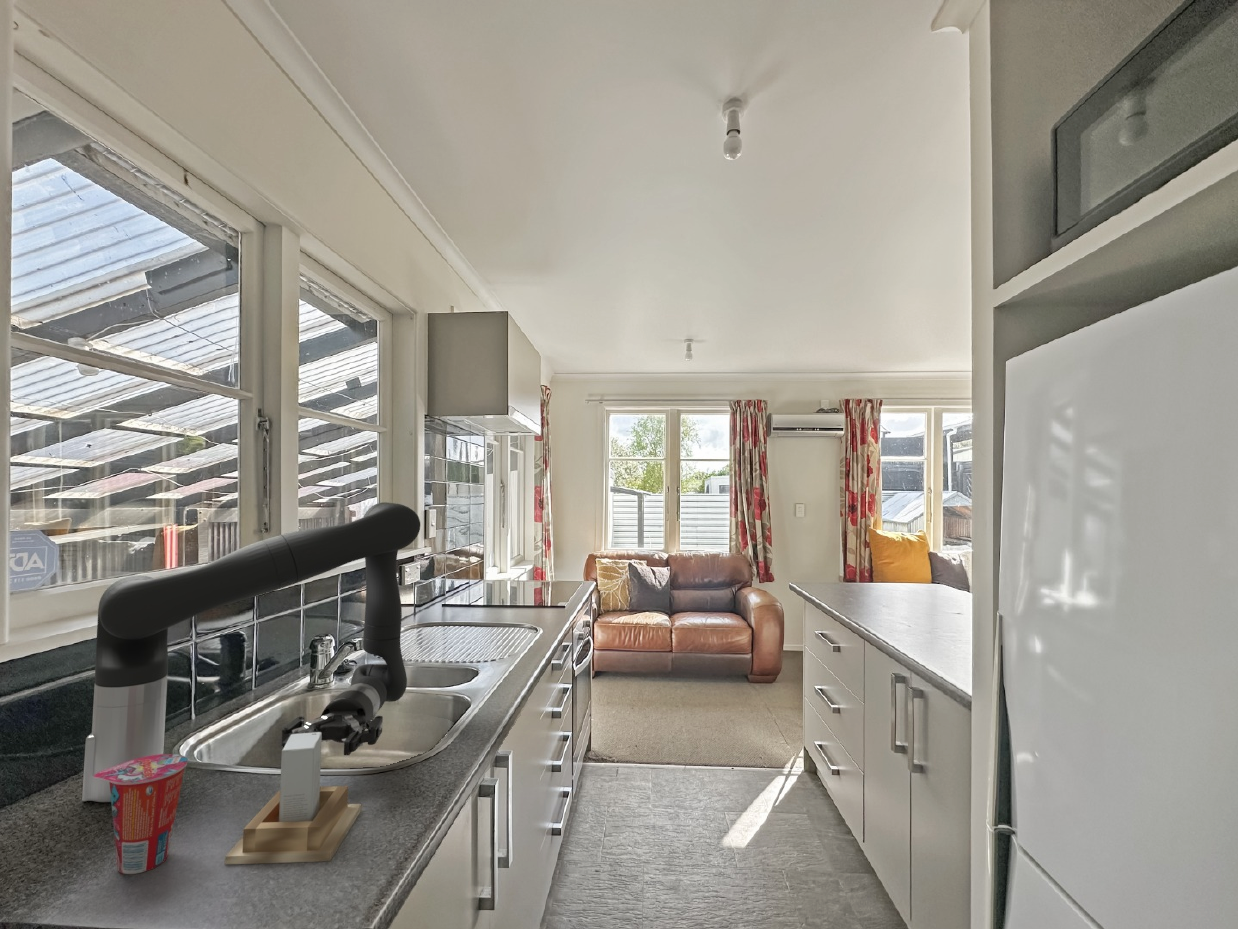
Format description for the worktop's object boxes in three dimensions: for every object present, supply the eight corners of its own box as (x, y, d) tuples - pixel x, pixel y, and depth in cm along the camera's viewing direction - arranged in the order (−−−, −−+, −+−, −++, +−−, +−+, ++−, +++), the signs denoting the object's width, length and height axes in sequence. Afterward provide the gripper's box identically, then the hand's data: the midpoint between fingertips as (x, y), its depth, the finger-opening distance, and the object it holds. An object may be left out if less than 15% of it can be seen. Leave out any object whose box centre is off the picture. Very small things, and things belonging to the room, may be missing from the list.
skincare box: (286, 818, 90) (290, 733, 91) (319, 815, 92) (323, 731, 92) (276, 841, 85) (280, 750, 85) (311, 837, 86) (315, 747, 86)
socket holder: (224, 864, 81) (226, 832, 81) (270, 813, 94) (271, 785, 94) (330, 861, 82) (331, 829, 82) (360, 810, 95) (362, 783, 95)
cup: (171, 837, 87) (175, 748, 87) (192, 861, 82) (197, 766, 82) (83, 866, 80) (89, 770, 80) (100, 895, 74) (106, 791, 75)
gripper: (310, 689, 110) (267, 724, 94) (395, 689, 111) (367, 723, 95) (308, 733, 109) (265, 776, 93) (393, 732, 111) (365, 774, 95)
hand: (316, 749), depth 94 cm, fingers open, 8 cm apart
